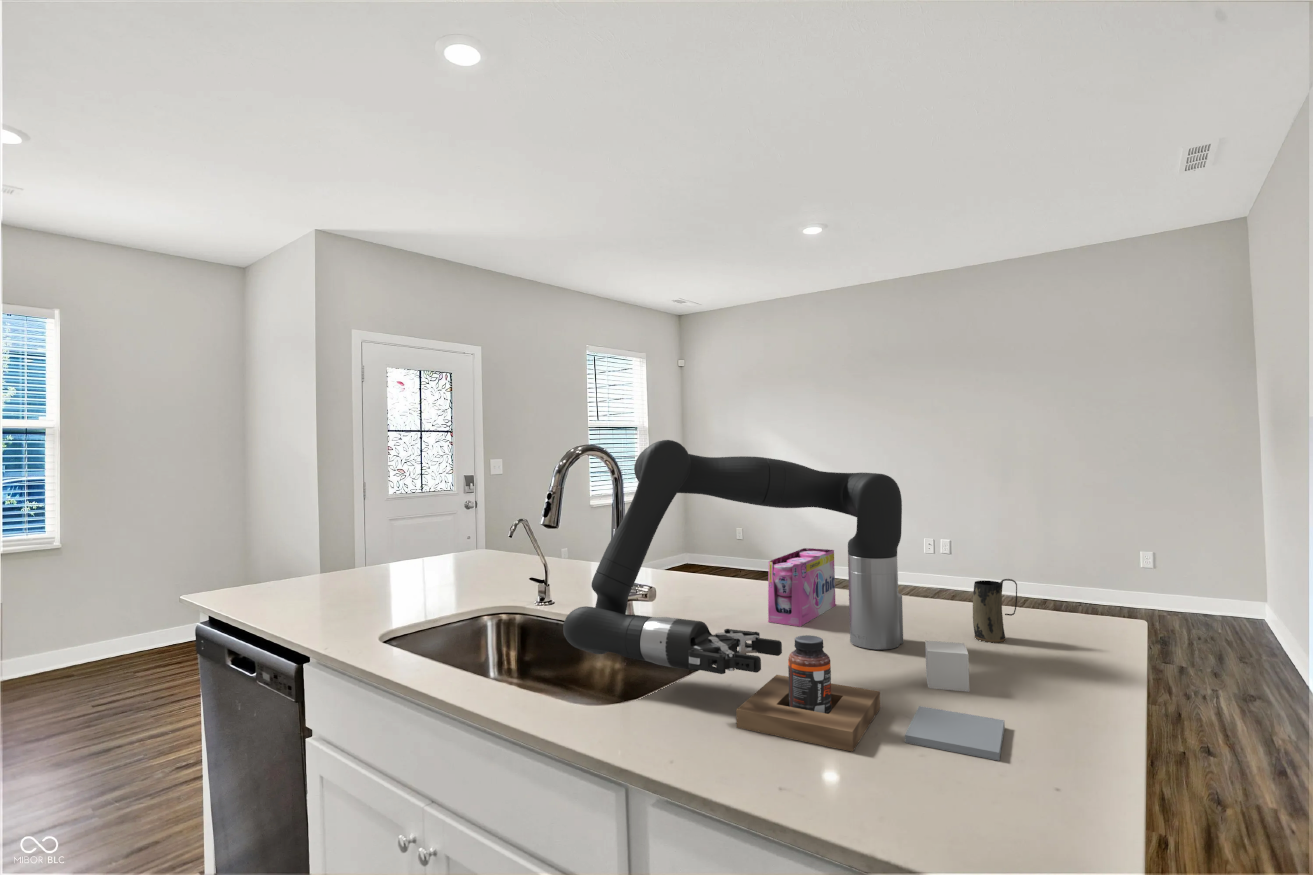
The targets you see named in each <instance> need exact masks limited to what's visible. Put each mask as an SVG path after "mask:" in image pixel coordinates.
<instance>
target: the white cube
mask: <svg viewBox="0 0 1313 875" xmlns="http://www.w3.org/2000/svg"><path fill="white" fill-rule="evenodd" d="M924 644H925V646H924V647H925V676H926V677H925V678H926V682H927V688H928V689H935V690H948V691H956V692H957V691H958V692H959V691H960V692H969V693H970V670H969V667H970V666H969V662H970V661H969V652H968V650H967V647H966V644H965V643H964V642H953V641H938V640H925V642H924Z"/></svg>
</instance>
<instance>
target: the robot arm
mask: <svg viewBox="0 0 1313 875" xmlns="http://www.w3.org/2000/svg"><path fill="white" fill-rule="evenodd" d="M633 470H634V475H635V478H636V479H637V481H638V482H637V483H638V484H637V487H636V490H635V493H634V495H633V497H632V500H631V502H630V503H629V504H630V505H629V507H628V508H627V511H626V513H625V515H624V516H623V519H622V520H621V522H620V524H619V525H618V527H617V528H616V530H615V532H614V534H613V536H612V538H611V539H610V541H609V543H608V544H607V546H606V548H605V551H604V553H603V556H602V557H601V559H600V561H599V563H598V565H597V568H596V569H595V570H596V571H595V573H594V575H593V578H592V581H591V589H592V591H593V592H594V593H595V594H596V602H595V607H594V606H580V607H576V608H574V609H572V611H569V614H567V616H566V617H565V619H564V622H563V627H562V628H563V629H562V630H563V631H562V632H563V636H564V639H565V640H566V641H567V642H568V643H569V644H570V646H572V647H574V648H576V649H579V650H581V651H585V652H587V653H592V654H594V655H605V654H607V653H611V654H612V653H613V654H616V655H619V656H622V657H625V658H628V659H633V660H639V661H645V662H649V663H652V664H656V665H660V666H665V667H669V668H677V669H681V670H682V669H683V670H688V671H689V670H690V671H695V672H697V671H702V672H703V671H704V672H708V673H711V674H712V673H713V674H719V675H724V674H726V673H727V672H726V671H728V672H733V671H735V670H736V671H737V670H738V671H743V672H751V673H755V674H756V673H759V672H760V671H761V670H762V659H761V657H760V656H759V655H754V654H762V655H769V656H777V657H779V656H780V655H782V653H783V644H782V641H781V640H779V639H771V638H762V637H760V636H761V633H760V632H758V631H750V630H741V629H732V628H731V629H730V628H725V629H723V630H724V631H723V632H722V631H721V632H716V633H715V634H712V633H711V630H710V629H709V626H708V625H707V624H706V623H705V622H704V621H700V620H693V619H686V618H677V617H669V616H658V617H656V616H648V615H640V614H627V611H628V610H627V609H628V601H629V596H630V593H631V591H632V589H633V587H634V585H635V582H636V580H637V577H638V575H639V574H640V573H639V572H640V570H641V568H642V565H643V563H644V561H645V558H646V556H647V553H648V551H649V548H650V546H651V543H652V541H653V539H654V537H655V534H656V532H657V530H658V528H659V525H660V524H661V522H662V519H663V518H664V516H665V514H666V513H667V510H668V509H669V506H670V505H671V503H672V502H673V500H674V498H675V497H676V495H677V494H688V495H689V494H691V495H693V494H696V495H704V496H705V495H706V496H711V497H714V498H718V499H722V500H723V499H724V500H727V501H732V502H738V503H743V504H749V505H754V506H762V507H769V508H777V509H802V508H815V509H816V508H817V509H818V508H819V509H824V510H828V511H829V510H830V511H833V512H837V513H841V514H845V515H848V516H851V517H855V518H856V531H855V534H854V535H853V537H852V538H850V539H849V540H848V542H847V567H848V568H847V569H848V573H847V574H848V601H849V602H848V603H849V604H848V607H849V612H848V614H849V641H850V643H851V644H852V645H854V646H856V647H860V648H863V649H869V650H891V649H895V648H898V647H900V645H901V644H904V618H903V617H904V615H903V594H901V593H899V574H898V573H899V571H898V569H899V568H898V567H899V566H898V547H899V545H900V543H901V539H902V522H903V520H902V519H903V518H902V515H903V512H902V511H903V503H902V502H903V500H902V494H901V490H900V486H899V484H898V483H897V481H896V480H895V479H894V478H892V477H891V476H889V475H888V474H884V473H876V472H875V473H874V472H835V471H834V472H832V471H831V472H830V471H823V470H818V469H814V468H811V467H808V466H806V465H802V464H799V463H796V462H791V461H788V460H783V459H778V458H777V459H776V458H771V457H764V456H762V457H761V456H739V455H738V456H721V457H719V456H717V457H715V456H714V457H713V456H712V457H711V456H710V457H709V456H702V455H697V454H691V453H689V452H688V450H687V449H686V448H685V446H683V445H682V444H681V443H680V442H678V441H675V440H672V439H662V440H658V441H655V442H653V443H652V444H650V445H648V447H646V448H644V449H643V450H642V451H641V452H640V453H639V455H638V456H637V458H636V460H635V464H634V469H633ZM750 641H751V643H749V642H750Z"/></svg>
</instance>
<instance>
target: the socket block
mask: <svg viewBox="0 0 1313 875" xmlns="http://www.w3.org/2000/svg"><path fill="white" fill-rule="evenodd" d="M831 705H832V707H831V709H832V710H831V712H830V713H829V714H826V713H820V712H815V711H810V710H804V709H799V708H793V707H789V675H788V676H787V675H782V674H776V675H775V676H773V677H771V679H770V680H769V681H767V682H766V683H765V684H764V685H763V686H761V687H760V688H759V689H758V690H757V691H755V692H754V694H752V695H751V696H750V697H749V698H748V699H746V700H745V701H744V702H743V703H742V704H740V705H739V706H738V707H737V708H736V710H735V711H736V712H735V713H736V714H735V716H736V729H737V728H738V729H743V730H746V731H752V732H756V733H760V734H766V735H770V736H771V735H772V736H774V737H775V736H776V737H780V738H786V739H791V740H796V741H800V742H804V743H810V744H814V745H818V746H823V747H828V748H834V749H838V750H844V751H848V752H854V750H855V749H856V747H857V746H858V744H859V742H860V741H861V739H862V737H864V735H865V733H866V731H867V730H868V728H869V726H870V725H871V723H872V722H873V720H874V718H875V717H876V715H877V714H878V713H879V711H880V709H881V692H880V690H876V689H868V688H863V687H855V686H850V685H843V684H837V683H832V682H831Z"/></svg>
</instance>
